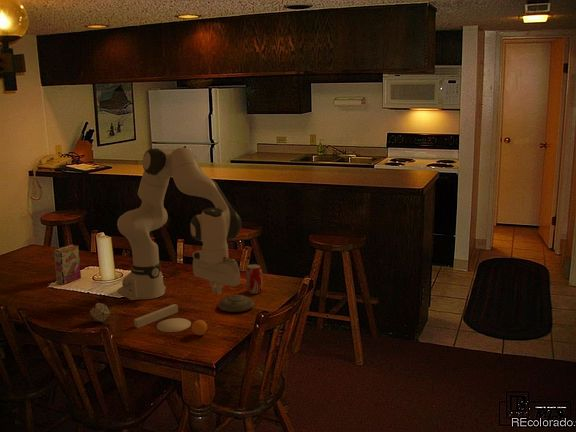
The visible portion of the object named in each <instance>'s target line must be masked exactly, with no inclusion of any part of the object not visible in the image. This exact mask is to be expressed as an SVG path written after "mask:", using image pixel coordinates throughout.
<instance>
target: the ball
mask: <svg viewBox="0 0 576 432" xmlns="http://www.w3.org/2000/svg"><path fill="white" fill-rule="evenodd" d="M191 325H192V326H191V331H192V333H194V334H195V336H203V335H205V334H206V332H207V330H208V324H207V322H206V321H205V320H202V319H197V320H195V321H194V322H193V323H192V324H191Z"/></svg>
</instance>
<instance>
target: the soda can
mask: <svg viewBox="0 0 576 432" xmlns="http://www.w3.org/2000/svg"><path fill="white" fill-rule="evenodd" d="M246 267H247V268H246V271H245V279H246V283H245V284H246V292H248V293H249V294H253V295H257V294H258V295H259V294H260V293H261V292H262V291H263V269H262V267H261V265H260V264H256V263H252V264H248V265H247V266H246Z"/></svg>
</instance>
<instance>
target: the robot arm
mask: <svg viewBox="0 0 576 432" xmlns="http://www.w3.org/2000/svg"><path fill="white" fill-rule="evenodd" d="M142 167H143V173H142V176H141V179H140V183H139V187H138V190H137V196H138V198H139V199H140V201H141V205H140V206H139V207H138V208H135V209H131V210H127V211H126V212H124V213H123V214H122V215H120V216H119V217H118V219H117V224H116V225H117V226H116V227H117V230H118V231H119V233H120V234H121V235H122V236H124V237H125V238H126V239H127V241H128V243H129V245H130V248H131V255H132V263H131V264H129V267H130V272H129V273H128V274H127V275H125V276H124V277H123V278H122V281H121V283H122V286H121V287H118V289H117V290H116V292H117V293H119V294H120V295H121V296H123V297H125V298H126V299H128V300H130V301H136V300H152V299H156V298H159V297H161V296H163V295H164V294H165V293H166V289H167V287H166V285H165V283H164V277H163V272H162V271H161V267H162V265H161V262H160V256H159V255H160V253H159V246H158V244H157V242H155V241H153V240H152V238H151V236H150V233H151V232H153V231H155V230H158V229H160V228H161V227H162V226H164V225H166V224H167V221H168V218H169V216H168V212H167V209H166V208H165V205H164V201H165V195H166V193H167V189H168V186H169V181H170V178H172V179H173V182H174V184H175V186H176V188H177V189H178V190H179V192H182V193H183V194H185V195H188V196H193V197H197V198H198V197H199V198H203V199H207V200H209V201H210V202H211V203H213V206H214V207H208V208H205V209H203V210H202V212H201V214H197V215H196V214H195V215H194V216H193V217H192V218H191V220H190V222H189V232H190V236H191V237H192V238H193V239H194V240H196V241H197V242H202V249H199V250H196V251H194V252H192V258H193V259H192V273H193V275H194V276H195V277H196V278H200V279H203V280H207V281H209V285H210V287H211V288H212V293H214V294H218V295H221V294H222V293H223V287H224V285H226V286H228V287H236V286H239V285H240V284H241V275H240V274H241V273H240V267H239V264H238V262H237V261H236V260H235V259H234V258H229V244H228V241H227V239H236V237H238V235H239V234H240V233H241V231H242V230H243V229H242V228H243V222H242V219H241V216H240V215H239V214H238V212H236V210H235V209H234V208H233V206H232V204H231V203H230V201H229V200H228V198H227V197H226V196H225V194H224V192H223V191H222V189H221V188H220V185H218V183H217V182H216V181H215V180H214V179H212V178H210V177H209V176H208V175H206V173H204V171H203V170H202V168H201V165H200V164H199V161H198V159H197V157H196V155H195V154H194V153H193V152H192V150H191V149H189V148H187V147H178V148H175V149H164V148H163V149H162V148H150V149H147V150H146V151H145V152H144V154H143V156H142Z"/></svg>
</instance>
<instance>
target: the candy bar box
mask: <svg viewBox="0 0 576 432" xmlns="http://www.w3.org/2000/svg"><path fill="white" fill-rule="evenodd" d="M53 257H54V260H53V261H54V267H55V280H56V281H55V282H56V284H57V285H62V286H63V285H67V284H69V283H71V282H74V281H77V280H79V279H81V278H82V273H81V260H80V247H79V245H77V244H69V245H66V246H63V247H60V248H56V249H53Z"/></svg>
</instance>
